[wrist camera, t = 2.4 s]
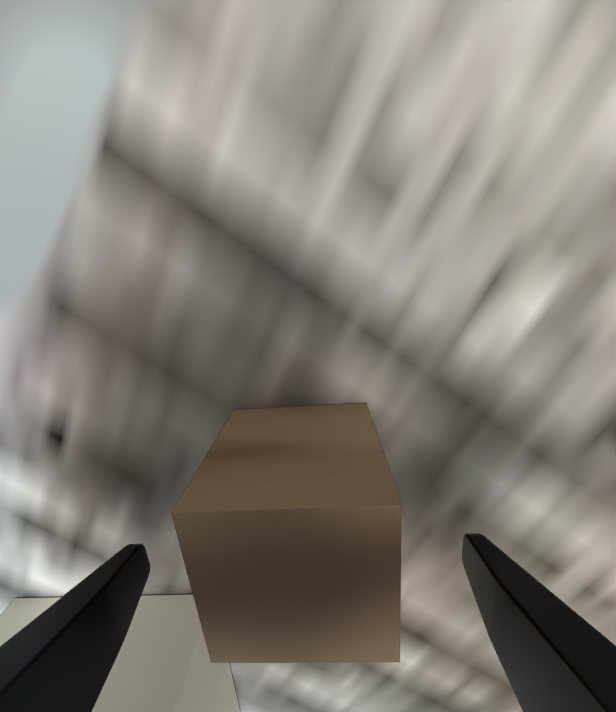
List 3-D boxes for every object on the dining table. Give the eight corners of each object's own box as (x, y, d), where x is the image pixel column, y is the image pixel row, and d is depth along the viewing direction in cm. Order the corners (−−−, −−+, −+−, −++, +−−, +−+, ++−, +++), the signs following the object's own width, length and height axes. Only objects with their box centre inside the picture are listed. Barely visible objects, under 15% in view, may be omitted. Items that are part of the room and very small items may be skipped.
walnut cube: (368, 509, 12) (399, 662, 8) (251, 513, 13) (210, 662, 8) (365, 401, 11) (401, 504, 6) (234, 409, 11) (171, 513, 6)
